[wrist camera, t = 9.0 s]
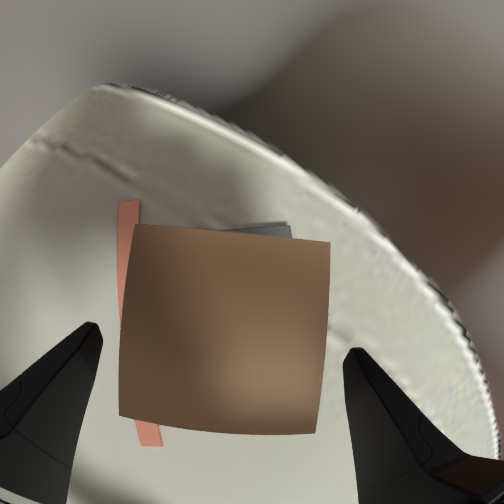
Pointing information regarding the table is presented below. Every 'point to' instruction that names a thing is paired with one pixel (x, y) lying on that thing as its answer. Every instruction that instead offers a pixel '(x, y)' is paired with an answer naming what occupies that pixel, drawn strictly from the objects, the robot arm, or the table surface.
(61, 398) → the robot arm
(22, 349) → the table surface
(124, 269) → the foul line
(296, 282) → the walnut block
